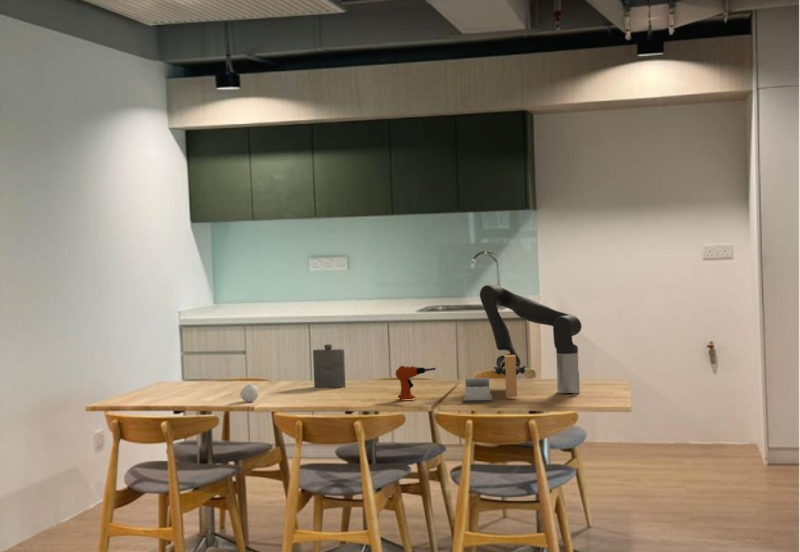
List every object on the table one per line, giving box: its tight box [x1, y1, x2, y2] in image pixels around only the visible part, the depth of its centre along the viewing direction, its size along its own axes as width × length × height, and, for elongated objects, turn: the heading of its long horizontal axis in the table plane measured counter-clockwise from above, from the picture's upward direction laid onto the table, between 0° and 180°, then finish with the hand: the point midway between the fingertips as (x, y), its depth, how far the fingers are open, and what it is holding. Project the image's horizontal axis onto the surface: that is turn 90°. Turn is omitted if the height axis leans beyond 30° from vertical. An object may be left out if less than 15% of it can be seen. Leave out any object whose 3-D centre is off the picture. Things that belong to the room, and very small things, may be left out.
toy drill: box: [395, 365, 437, 399], centre depth 454 cm, size 5×19×15 cm, turn 70°
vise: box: [462, 386, 493, 404], centre depth 449 cm, size 12×14×6 cm
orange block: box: [503, 354, 518, 398], centre depth 448 cm, size 4×4×17 cm
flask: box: [312, 343, 346, 389], centre depth 499 cm, size 15×6×20 cm, turn 78°
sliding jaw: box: [465, 377, 490, 388], centre depth 454 cm, size 10×3×7 cm, turn 86°
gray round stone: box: [239, 383, 259, 403], centre depth 464 cm, size 8×8×8 cm
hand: (510, 372), depth 445 cm, fingers closed on orange block, 4 cm apart
